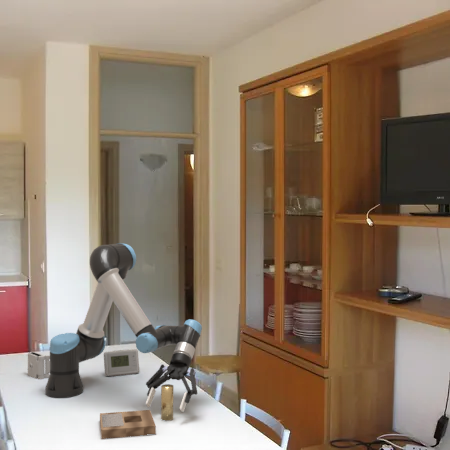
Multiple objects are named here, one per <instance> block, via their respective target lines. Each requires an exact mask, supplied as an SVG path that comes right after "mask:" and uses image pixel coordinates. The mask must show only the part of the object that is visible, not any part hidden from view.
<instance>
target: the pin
mask: <svg viewBox="0 0 450 450" xmlns="http://www.w3.org/2000/svg"><path fill="white" fill-rule="evenodd" d="M160 386H161V390H160V391H161V393H160V397H161V399H160V420H161V419H162V420H161V421H163V420H165V421H166V422H167V421H172V420H174V385H173V384H167V383H166V384H161V385H160ZM165 421H164V422H165Z"/></svg>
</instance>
